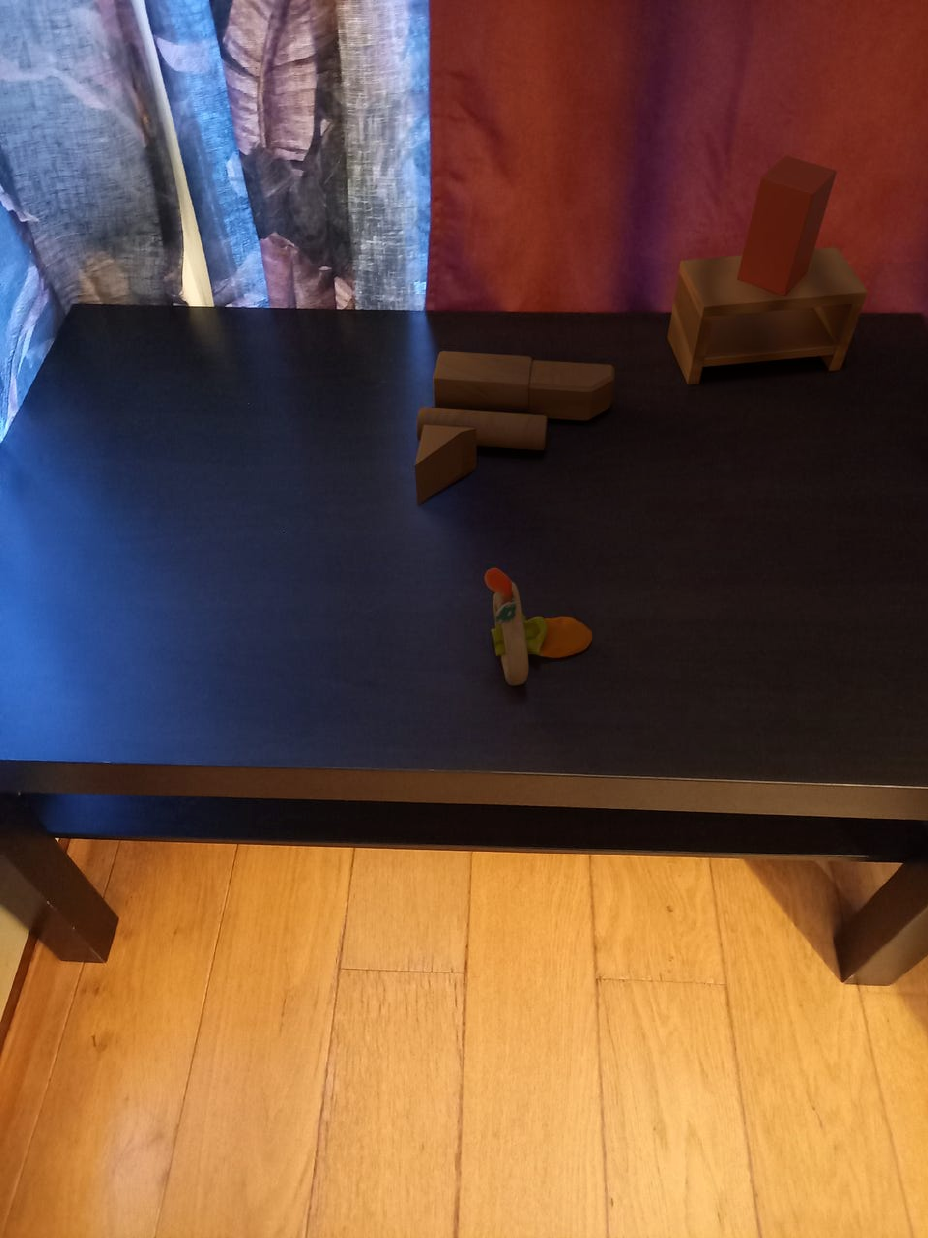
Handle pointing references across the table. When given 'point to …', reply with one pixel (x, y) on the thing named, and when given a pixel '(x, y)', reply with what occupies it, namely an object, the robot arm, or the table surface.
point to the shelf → (763, 314)
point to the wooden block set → (499, 409)
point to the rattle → (528, 631)
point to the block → (785, 224)
